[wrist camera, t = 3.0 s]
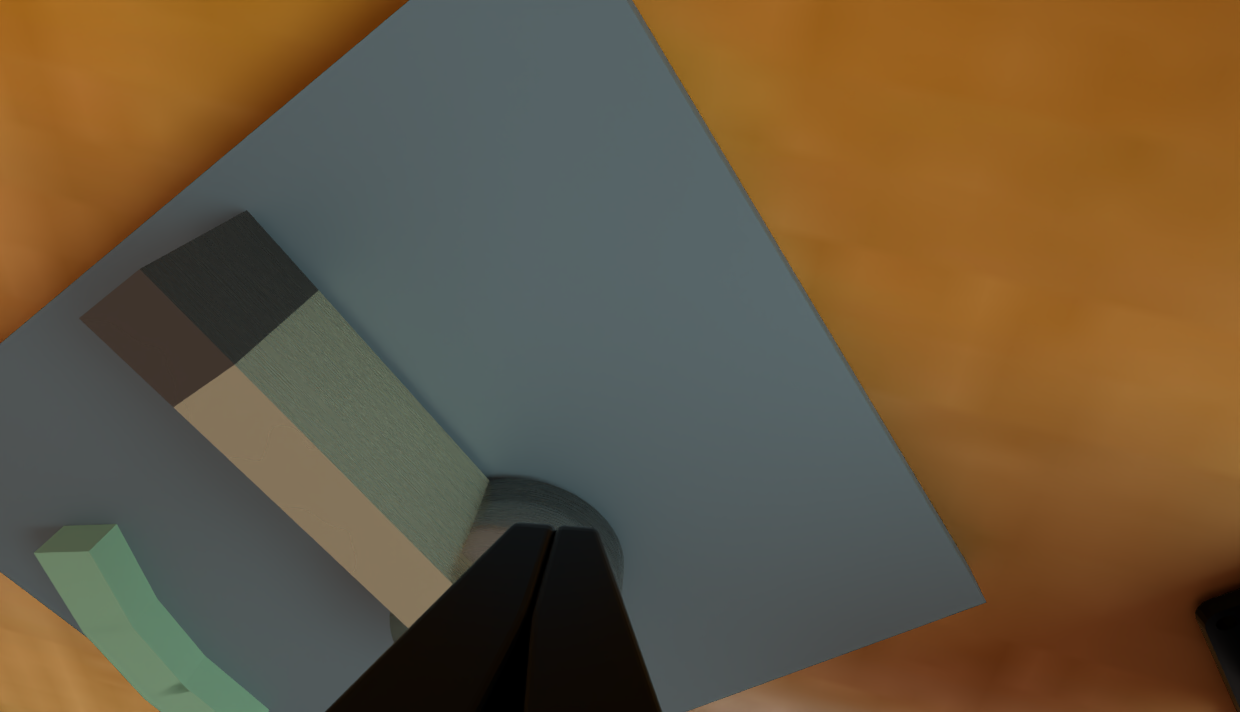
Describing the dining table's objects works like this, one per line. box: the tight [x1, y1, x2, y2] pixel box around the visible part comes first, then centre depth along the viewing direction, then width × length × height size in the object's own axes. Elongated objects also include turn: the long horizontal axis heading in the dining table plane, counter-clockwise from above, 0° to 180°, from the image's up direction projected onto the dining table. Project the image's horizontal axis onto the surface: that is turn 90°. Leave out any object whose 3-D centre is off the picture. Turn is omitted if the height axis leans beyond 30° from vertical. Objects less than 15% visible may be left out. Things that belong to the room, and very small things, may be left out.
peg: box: [79, 210, 624, 642], centre depth 15 cm, size 12×5×3 cm, turn 34°
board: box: [0, 0, 986, 712], centre depth 18 cm, size 18×22×2 cm
